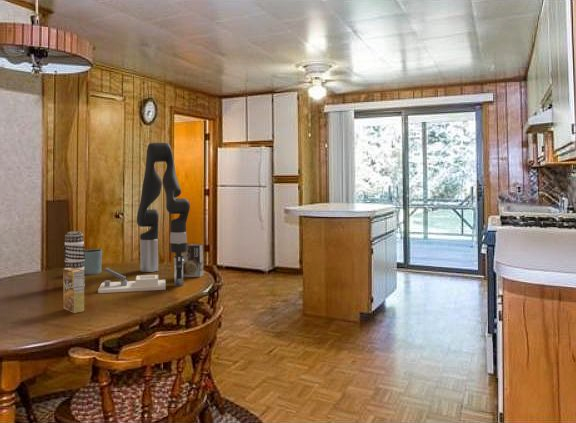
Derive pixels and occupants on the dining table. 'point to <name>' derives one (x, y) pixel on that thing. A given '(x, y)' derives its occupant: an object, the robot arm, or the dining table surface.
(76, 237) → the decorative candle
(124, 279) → the latch lever
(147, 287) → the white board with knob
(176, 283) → the steel pin
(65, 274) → the candy box
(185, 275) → the coffee box
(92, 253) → the blue cylindrical container
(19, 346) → the dining table surface
